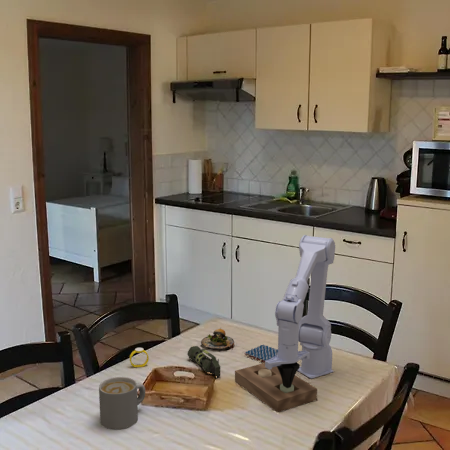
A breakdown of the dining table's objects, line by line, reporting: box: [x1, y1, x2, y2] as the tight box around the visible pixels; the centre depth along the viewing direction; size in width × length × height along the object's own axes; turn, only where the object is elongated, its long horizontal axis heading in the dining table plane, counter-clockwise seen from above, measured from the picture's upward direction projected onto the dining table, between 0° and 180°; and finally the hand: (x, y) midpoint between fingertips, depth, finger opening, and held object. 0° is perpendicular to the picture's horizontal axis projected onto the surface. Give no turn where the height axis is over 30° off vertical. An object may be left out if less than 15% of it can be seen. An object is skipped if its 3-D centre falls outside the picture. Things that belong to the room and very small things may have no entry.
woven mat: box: [244, 344, 278, 364], centre depth 195 cm, size 10×11×2 cm
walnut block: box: [234, 362, 318, 413], centre depth 170 cm, size 14×22×4 cm, turn 31°
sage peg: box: [280, 384, 294, 393], centre depth 165 cm, size 4×4×4 cm
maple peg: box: [258, 369, 272, 378], centre depth 174 cm, size 4×4×4 cm
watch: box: [129, 347, 150, 368], centre depth 186 cm, size 6×3×6 cm, turn 107°
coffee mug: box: [98, 376, 146, 431], centre depth 154 cm, size 13×10×10 cm
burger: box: [200, 328, 235, 350], centre depth 203 cm, size 12×12×8 cm
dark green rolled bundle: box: [186, 345, 221, 379], centre depth 185 cm, size 6×5×18 cm
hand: (287, 386), depth 165 cm, fingers closed, pressing on sage peg
